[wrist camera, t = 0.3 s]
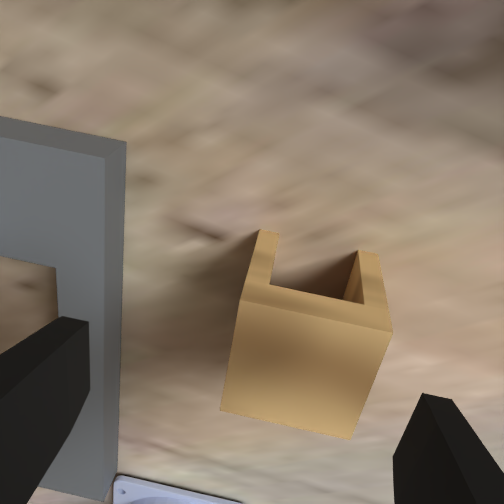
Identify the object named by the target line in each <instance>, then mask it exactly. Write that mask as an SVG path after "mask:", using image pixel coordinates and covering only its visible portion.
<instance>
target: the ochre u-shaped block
mask: <svg viewBox="0 0 504 504" xmlns="http://www.w3.org/2000/svg"><path fill="white" fill-rule="evenodd" d="M278 238H279V233H275V232H270V231H265V230H260V231H259V234H258V238H257V241H256V245H255V248H254V252H253V255H252V259H251V263H250V266H249V270H248V273H247V277H246V280H245V284H244V287H243V291H242V294H241V298H240V302H239V308H238V313H237V318H236V324H235V329H234V335H233V340H232V346H231V351H230V357H229V362H228V368H227V373H226V379H225V384H224V390H223V395H222V401H221V406H220V411H224V412H228V413H233V414H237V415H241V416H246V417H250V418H255V419H259V420H263V421H268V422H272V423H277V424H281V425H286V426H290V427H294V428H299V429H303V430H308V431H312V432H316V433H321V434H325V435H330V436H334V437H338V438H343V439H347V440H350V439H351V437H352V434H353V432H354V429H355V427H356V424H357V422H358V419H359V417H360V414H361V412H362V409H363V407H364V404H365V402H366V399H367V397H368V394H369V392H370V389H371V387H372V384H373V382H374V380H375V377H376V375H377V372H378V370H379V367H380V365H381V362H382V360H383V357H384V355H385V352H386V350H387V347H388V345H389V342H390V340H391V337H392V335H393V330H392V325H391V319H390V314H389V309H388V304H387V298H386V293H385V288H384V283H383V277H382V272H381V267H380V262H379V256H378V254H375V253H370V252H365V251H361V250H358V252H357V255H356V258H355V262H354V265H353V268H352V271H351V274H350V277H349V281H348V284H347V287H346V290H345V293H344V296H343V299H342V300H339V299H335V298H330V297H325V296H321V295H316V294H311V293H307V292H302V291H297V290H293V289H288V288H284V287H279V286H274V285H270V284H269V283H270V278H271V273H272V268H273V263H274V258H275V253H276V248H277V243H278Z"/></svg>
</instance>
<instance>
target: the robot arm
mask: <svg viewBox="0 0 504 504" xmlns="http://www.w3.org/2000/svg"><path fill="white" fill-rule="evenodd" d="M89 392H90V347H89V321H84V320H79V319H75V318H70V317H65V316H61V317H59V318H57V319H56V320H54V321H53V322H51V323H49V324H48V325H46V326H45V327H43V328H41V329H40V330H38V331H37V332H35V333H34V334H32V335H30V336H29V337H27V338H26V339H24V340H23V341H21V342H19V343H18V344H16V345H15V346H13V347H12V348H10V349H8V350H7V351H5V352H4V353H2V354H1V355H0V504H27V502H28V501H29V499H30V498H31V496H32V494H33V493H34V491H35V490H36V488H37V486H38V485H39V483H40V482H41V480H42V478H43V477H44V475H45V474H46V472H47V470H48V469H49V467H50V466H51V464H52V462H53V461H54V459H55V457H56V456H57V454H58V452H59V451H60V449H61V448H62V446H63V444H64V443H65V441H66V439H67V438H68V436H69V434H70V433H71V431H72V428H73V426H74V424H75V422H76V420H77V418H78V416H79V414H80V412H81V410H82V407H83V405H84V403H85V401H86V399H87V396H88V394H89ZM393 483H394V502H395V504H504V473H503V471H502V470H501V469H500V467H499V466H498V465H497V463H496V462H495V460H494V459H493V457H492V456H491V455H490V453H489V452H488V450H487V449H486V448H485V446H484V445H483V443H482V442H481V440H480V439H479V438H478V436H477V435H476V433H475V432H474V430H473V429H472V427H471V426H470V425H469V423H468V422H467V420H466V419H465V417H464V416H463V415H462V413H461V412H460V410H459V409H458V407H457V406H456V405H455V403H454V402H453V401H452V399H448V398H443V397H438V396H434V395H429V394H424V393H422V395H421V397H420V399H419V401H418V403H417V406H416V408H415V410H414V412H413V414H412V416H411V418H410V421H409V423H408V425H407V427H406V429H405V431H404V434H403V436H402V438H401V440H400V442H399V444H398V447H397V449H396V451H395V453H394V455H393ZM113 504H242V503H239V502H234V501H230V500H226V499H221V498H217V497H213V496H209V495H204V494H200V493H196V492H192V491H187V490H183V489H179V488H175V487H170V486H166V485H162V484H158V483H153V482H149V481H145V480H141V479H136V478H132V477H128V476H123V475H120V476H117V477H116V479H115V481H114V484H113Z"/></svg>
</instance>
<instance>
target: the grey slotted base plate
mask: <svg viewBox="0 0 504 504" xmlns="http://www.w3.org/2000/svg"><path fill="white" fill-rule="evenodd" d="M125 173H126V142H124V141H119V140H114V139H109V138H105V137H100V136H95V135H90V134H85V133H80V132H75V131H70V130H65V129H60V128H56V127H51V126H46V125H41V124H36V123H31V122H26V121H21V120H16V119H12V118H7V117H2V116H0V256H3V257H8V258H12V259H17V260H21V261H26V262H31V263H35V264H40V265H44V266H49V267H54V268H56V281H57V299H58V316H59V317H61V316H65V317H70V318H75V319H79V320H84V321H89V347H90V392H89V394H88V396H87V399H86V401H85V403H84V405H83V407H82V410H81V412H80V414H79V416H78V418H77V420H76V422H75V424H74V426H73V428H72V431H71V433H70V434H69V436H68V438H67V439H66V441H65V443H64V444H63V446H62V448H61V449H60V451H59V452H58V454H57V456H56V457H55V459H54V461H53V462H52V464H51V466H50V467H49V469H48V470H47V472H46V474H45V475H44V477H43V478H42V480H41V482H40V483H39V485H38V487H42V488H47V489H51V490H55V491H59V492H63V493H68V494H72V495H76V496H80V497H84V498H89V499H93V500H97V501H101V502H104V499H105V497H106V495H107V492H108V490H109V488H110V486H111V483H112V481H113V479H114V476H115V474H116V472H117V461H118V425H119V389H120V353H121V317H122V281H123V245H124V209H125Z"/></svg>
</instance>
